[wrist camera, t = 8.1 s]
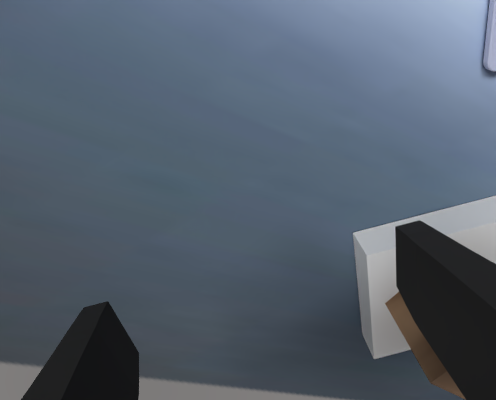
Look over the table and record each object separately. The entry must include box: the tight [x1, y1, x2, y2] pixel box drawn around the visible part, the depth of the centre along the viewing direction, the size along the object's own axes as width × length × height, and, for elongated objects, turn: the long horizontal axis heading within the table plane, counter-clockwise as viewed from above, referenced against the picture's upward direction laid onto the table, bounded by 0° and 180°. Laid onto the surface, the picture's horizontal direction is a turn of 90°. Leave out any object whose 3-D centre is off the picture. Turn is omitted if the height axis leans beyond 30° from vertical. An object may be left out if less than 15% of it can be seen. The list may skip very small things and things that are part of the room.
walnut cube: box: [385, 292, 465, 399], centre depth 21 cm, size 5×5×5 cm
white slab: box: [353, 196, 496, 359], centre depth 24 cm, size 9×9×2 cm
